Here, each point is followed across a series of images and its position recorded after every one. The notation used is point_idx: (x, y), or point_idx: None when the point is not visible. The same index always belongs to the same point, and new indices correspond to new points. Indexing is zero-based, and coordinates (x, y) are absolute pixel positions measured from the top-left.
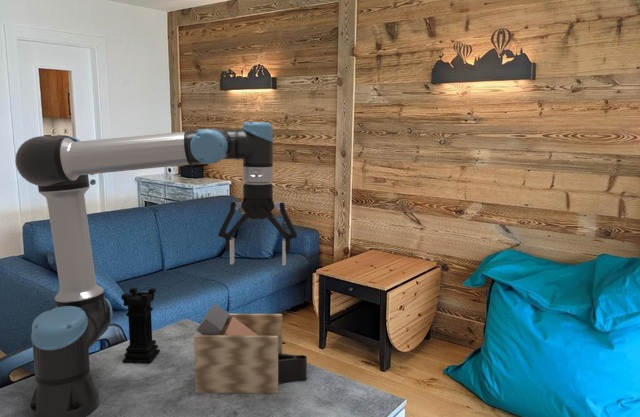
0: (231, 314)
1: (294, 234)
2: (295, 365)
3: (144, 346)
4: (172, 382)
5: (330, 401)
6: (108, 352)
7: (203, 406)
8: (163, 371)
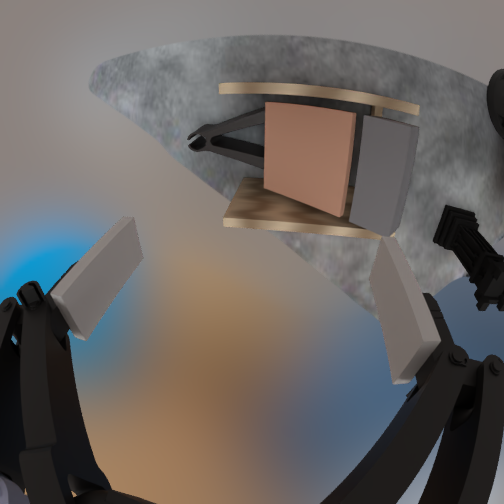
0: (342, 230)
1: (3, 311)
2: (209, 129)
3: (461, 225)
4: None
5: (162, 70)
6: None
7: (360, 55)
8: (429, 176)
